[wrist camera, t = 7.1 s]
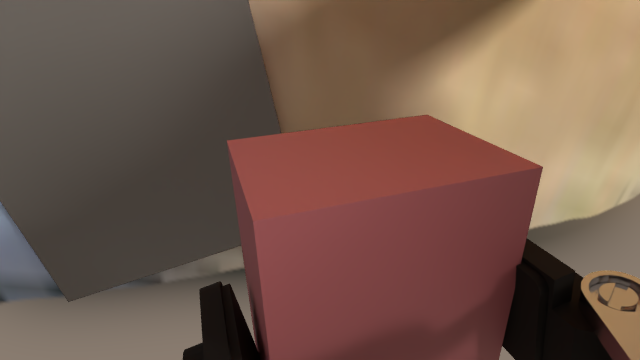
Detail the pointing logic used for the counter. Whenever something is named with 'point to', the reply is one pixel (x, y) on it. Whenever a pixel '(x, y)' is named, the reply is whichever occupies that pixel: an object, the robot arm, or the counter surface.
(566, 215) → the counter surface
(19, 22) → the mat
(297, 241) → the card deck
